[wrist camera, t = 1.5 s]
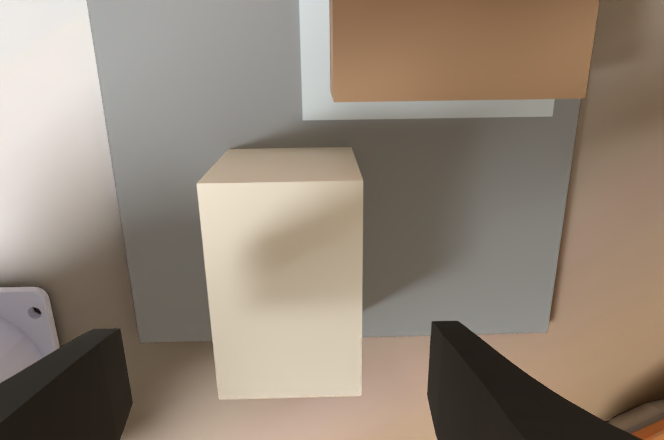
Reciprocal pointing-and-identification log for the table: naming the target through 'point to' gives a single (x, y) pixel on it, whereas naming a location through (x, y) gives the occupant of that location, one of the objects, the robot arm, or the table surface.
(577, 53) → the walnut block
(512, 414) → the robot arm
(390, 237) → the gray mat
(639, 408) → the brown layered disc
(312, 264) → the cream block
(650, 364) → the table surface
